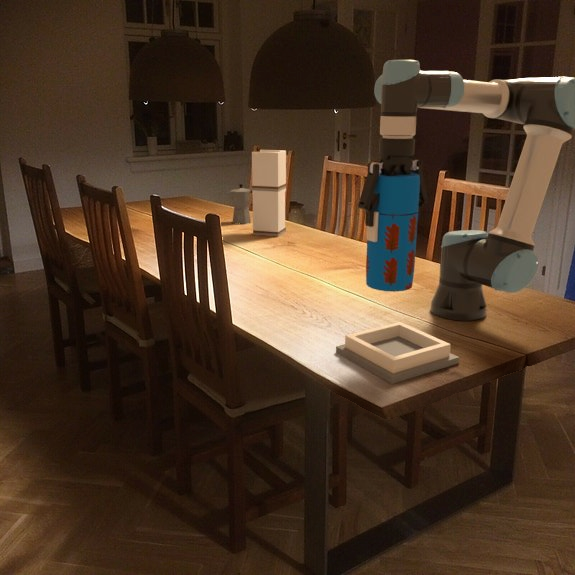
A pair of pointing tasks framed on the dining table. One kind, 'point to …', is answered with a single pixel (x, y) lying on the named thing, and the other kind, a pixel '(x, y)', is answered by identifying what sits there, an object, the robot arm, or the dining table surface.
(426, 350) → the holder
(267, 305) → the dining table surface
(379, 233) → the thermos
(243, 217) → the coffeepot
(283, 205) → the cream tall block
